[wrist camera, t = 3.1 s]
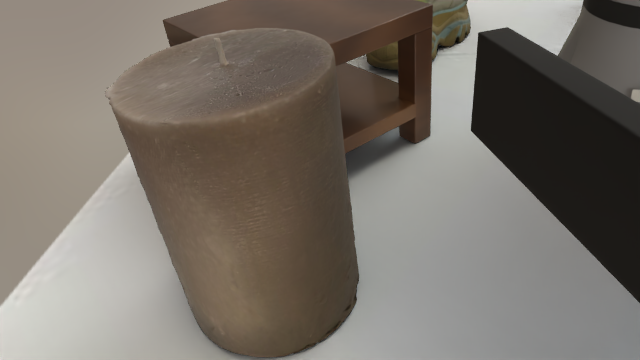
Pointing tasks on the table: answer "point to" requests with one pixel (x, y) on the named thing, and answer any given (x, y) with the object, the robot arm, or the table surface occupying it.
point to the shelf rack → (344, 54)
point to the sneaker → (446, 29)
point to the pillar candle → (247, 183)
